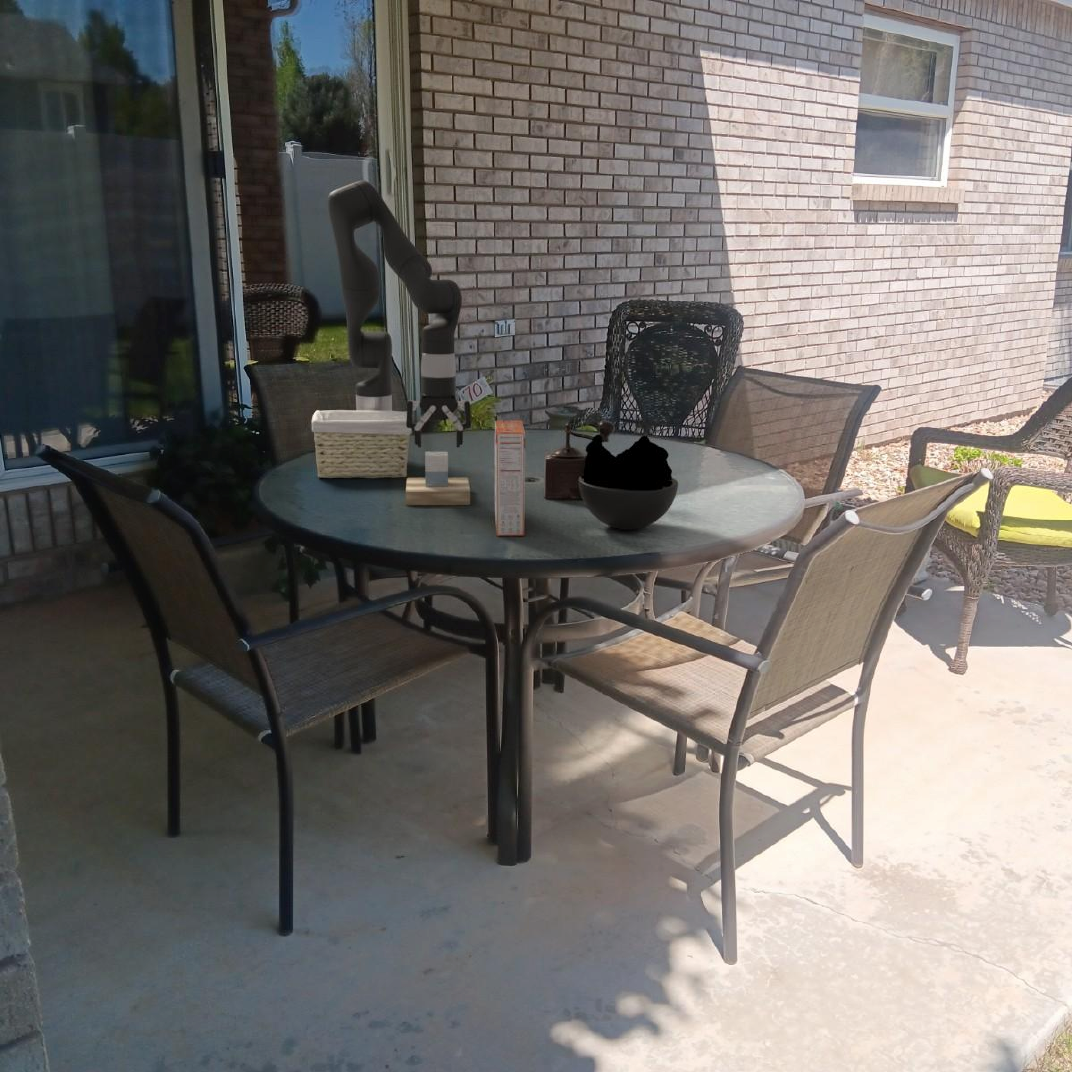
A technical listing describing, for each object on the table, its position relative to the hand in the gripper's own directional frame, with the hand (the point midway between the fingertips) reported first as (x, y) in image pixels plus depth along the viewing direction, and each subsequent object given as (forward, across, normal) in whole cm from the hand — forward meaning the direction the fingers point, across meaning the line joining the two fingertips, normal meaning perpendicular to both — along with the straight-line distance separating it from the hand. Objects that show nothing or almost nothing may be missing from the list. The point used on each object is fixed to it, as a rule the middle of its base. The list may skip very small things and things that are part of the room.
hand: (438, 446), depth 228 cm
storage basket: (+12, -18, +26) cm, 34 cm away
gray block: (+8, 0, 0) cm, 9 cm away
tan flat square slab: (+12, 0, 0) cm, 12 cm away
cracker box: (+12, +14, -26) cm, 32 cm away
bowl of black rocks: (+12, +38, -28) cm, 48 cm away
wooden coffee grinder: (+12, +32, +2) cm, 34 cm away
